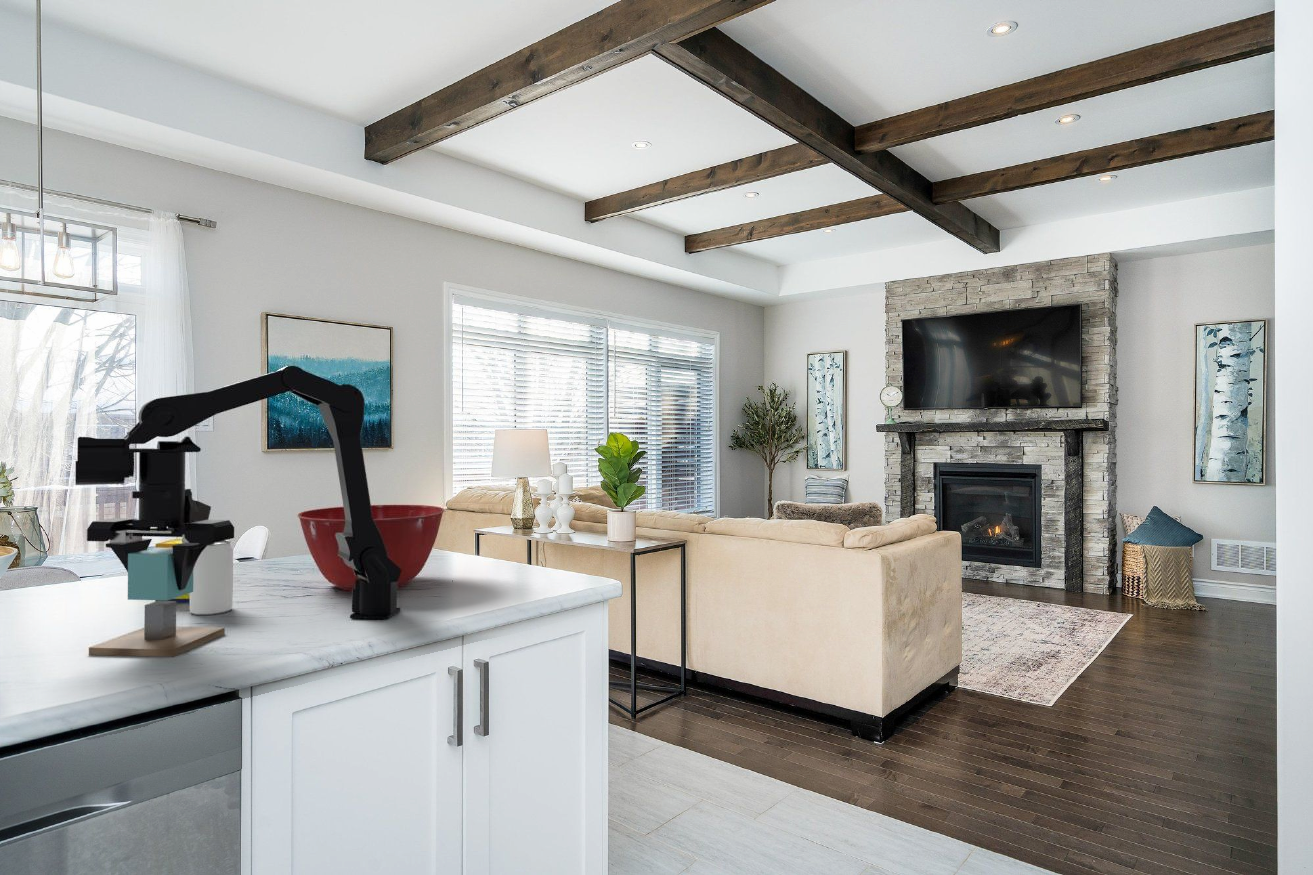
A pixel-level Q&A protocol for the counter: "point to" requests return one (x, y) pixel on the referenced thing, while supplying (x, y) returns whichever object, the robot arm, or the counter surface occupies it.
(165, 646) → the base board
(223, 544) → the can
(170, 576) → the teal cube
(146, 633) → the post
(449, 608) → the counter surface
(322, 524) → the mixing bowl
